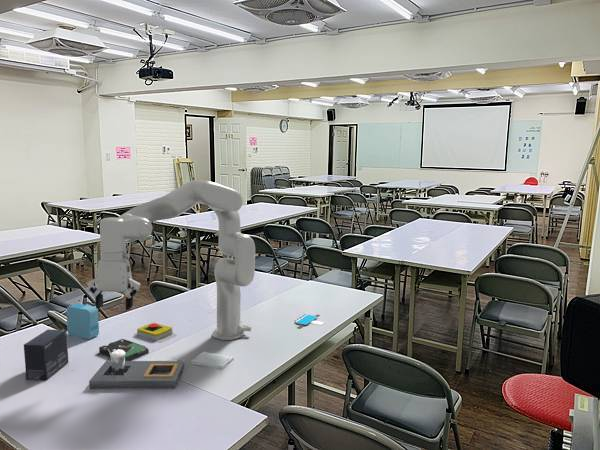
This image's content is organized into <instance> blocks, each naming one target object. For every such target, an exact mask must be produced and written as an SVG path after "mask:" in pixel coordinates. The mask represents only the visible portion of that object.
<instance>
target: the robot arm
mask: <svg viewBox="0 0 600 450" xmlns="http://www.w3.org/2000/svg"><path fill="white" fill-rule="evenodd" d="M243 201H244V200H243V196H242V194H241V193H240V192H239V191H237V190H235V189H233V188H231V187H227V186H225V185H222V184H219V183H217V182H213V181H211V180H203V179H202V180H200V179H193V180H190V181H188V182H186V183H184V184H183V185H182V184H181V186H179V187H176V188H175V189H174V190H172V191H170V192H168V193H167V194H165V195H162V196H161V197H157V198H154V199H152V200H150V201H147V202H143V203H141V204H139V205H137V206H134V207H133V208H131V209H129V210H128V211H125V212H124V213H123V214H121V215H120V216H119V217H115V216H114V217H105V218H102V219H101V220H100V221H99V236H100V237H99V241H100V243H99V245H100V246H99V247H100V249H99V250H100V259H99V260H98V263H97V267H96V275H95V276H96V277H95V278H93V279H90V280H89V281H87V282H86V284H87V287H88V288H89V291H90V292H91V293H92V294H93V297H94V301H95V303H94V304H95V307H96V308H97V309H98V310H99V309H100V308H102V307H103V306H104V295H103V292H109V293H110V292H111V293H123V294H124V295H125V296H126V298H125V310H126V311H129V310H131V309H132V308H133V307H134V296H135V295H136V294H137V293H138V292H139V290H140V288H141V286H142V285H141V283H140V282H138V281H137V280H134V279H133V277H132V269H131V265H130V264H131V263H130V261H129V258H130V257H131V253H128V252H127V244H126V243H127V240H133V241H134V240H135V241H136V240H137V241H138V240H139V241H141V240H145V239H147V238H149V237H150V236H151V234H152V232H153V224H152V223H153V222H154V223H155V222H157V221H163V220H170V219H174V218H177V217H179V216H180V215H182V214H184V213H185V212H188V211H189V210H190V209H192V208H194V207H195V206H196V205H198V204H199V205H200V204H201V205H207V207H209V208H210V209H211V210H212V211H213V212H214V213H215V215H216V218H217V220H218V251H219V252H220V253H222V255H225V256H229V257H223V258H220V259H219V260H218V261H217V262H216V263H215V265H214V269H213V270H214V278H215V283H216V328H215V329H214V330H213V331H212V336H213V337H214V338H215V339H218V340H222V341H232V340H237V339H239V338H240V339H241V337H243V336H244V334H245V332H251V331H252V326H249V324H243V323H242V320H241V297H242V296H241V293H242V291H241V287H247V286H249V285H250V284H251V283H252V282H253V281H254V277H255V273H256V272H255V271H256V245H255V241H254V239H253V238H252V237H251V236H250V235H249V234H244V233H242V230H241V217H240V213H239V210H240V209H241V208H242V206H243ZM230 257H233V258H230ZM95 285H96V286H95ZM133 287H134V288H133ZM132 288H133V289H132Z"/></svg>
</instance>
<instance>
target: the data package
mask: <svg viewBox="0 0 600 450" xmlns="http://www.w3.org/2000/svg"><path fill="white" fill-rule="evenodd" d="M99 327H100V326H99V309H97V308H96V306H94V305H88V304H83V303H75V304H72V305H69V306H67V307H66V328H67V329H66V331H67V334H68V336H72V337H75V338H81V339H85V340H90V339H93V338H95V337H96V336H99V334H100V328H99Z"/></svg>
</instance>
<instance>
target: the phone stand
mask: <svg viewBox="0 0 600 450" xmlns="http://www.w3.org/2000/svg"><path fill="white" fill-rule="evenodd" d="M301 316H302V317H301ZM301 316H300V317H298V318H299V319H298V318H296V319H297V320H296V319H294V323H295V324H296V325H298V326H297V329H301V328H303V327H305V326H306V325H308V324H312V325H315V326H322V325H323V324H325V322H324V321H323V322H322V321H318V320H315V319H317V318H318V317H319V316H320V314H316V315H313V314H307V313H304V314H303V315H301Z"/></svg>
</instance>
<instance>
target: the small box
mask: <svg viewBox="0 0 600 450" xmlns="http://www.w3.org/2000/svg"><path fill="white" fill-rule="evenodd" d="M67 334H68V332H67V329H46V330H45V331H44V332H42V333H40V334H39V335H37V336H35V337H34V338H32V339H30V340H29V341H27V342H26V343H24V344H23V354H24V355H23V356H24V364H25V365H24V366H25V379H26V381H48V380H49V379H50V378H52V377H53V376H54V375H56V373H58V372H59V371H60V370H61V369H62V368H64V367H65V366H66V365H67V364H69V352H68V351H69V350H68V338H67V337H68V335H67Z"/></svg>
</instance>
